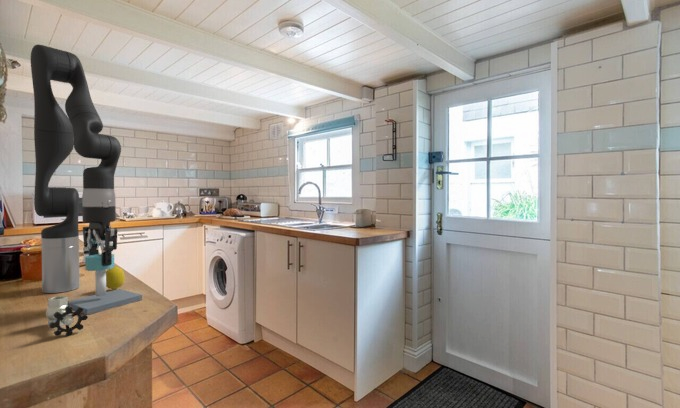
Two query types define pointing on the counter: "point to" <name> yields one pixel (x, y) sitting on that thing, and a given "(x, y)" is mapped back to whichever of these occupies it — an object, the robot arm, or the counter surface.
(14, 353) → the counter surface
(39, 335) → the counter surface
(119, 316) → the counter surface
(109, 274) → the lemon
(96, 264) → the collar
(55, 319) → the valve
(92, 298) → the post stand
